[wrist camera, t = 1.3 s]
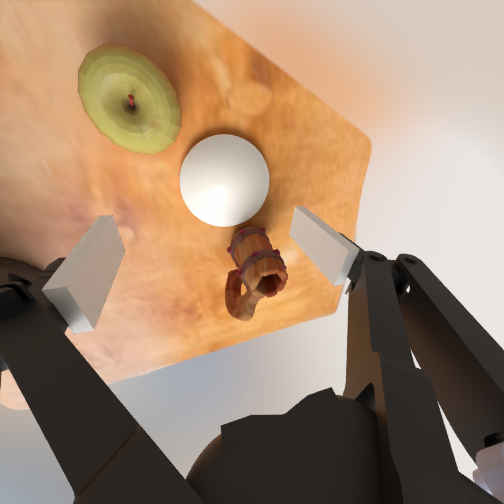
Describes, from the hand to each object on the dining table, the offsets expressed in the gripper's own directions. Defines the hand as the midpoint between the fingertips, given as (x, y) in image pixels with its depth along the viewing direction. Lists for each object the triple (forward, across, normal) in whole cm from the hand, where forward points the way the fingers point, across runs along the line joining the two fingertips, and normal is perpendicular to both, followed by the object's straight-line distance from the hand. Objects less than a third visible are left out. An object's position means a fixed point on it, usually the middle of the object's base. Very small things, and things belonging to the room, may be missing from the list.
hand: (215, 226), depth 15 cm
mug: (+21, +7, -16) cm, 28 cm away
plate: (+21, +5, -3) cm, 21 cm away
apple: (+21, -6, +7) cm, 23 cm away
